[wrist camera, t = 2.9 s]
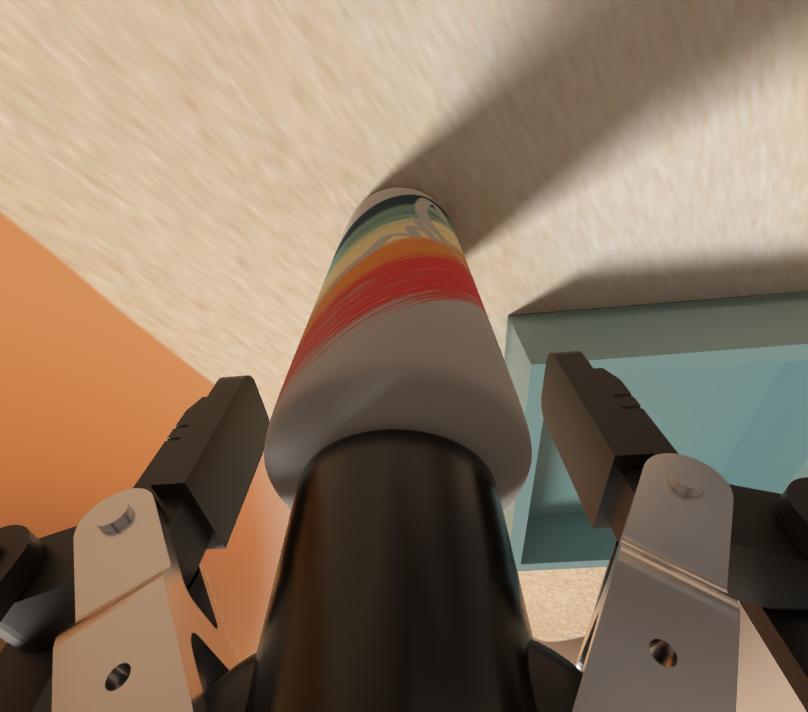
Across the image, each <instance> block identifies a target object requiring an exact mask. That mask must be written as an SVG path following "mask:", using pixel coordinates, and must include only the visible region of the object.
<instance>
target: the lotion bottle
mask: <svg viewBox="0 0 808 712" xmlns="http://www.w3.org/2000/svg"><path fill="white" fill-rule="evenodd" d="M264 460H265V467H266V470H267V473H268V476H269V478H270V481H271V483H272V485H273V487H274V488H275V490H276V492H277V493H278V495H279V496H280V497H281V499H282V500H283V501H284V502H285V504H286V505H287V506H288V507H289V508H290V509H291V514H290V518H289V522H288V526H287V530H286V534H285V538H284V542H283V546H282V550H281V555H280V559H279V563H278V567H277V571H276V575H275V579H274V583H273V587H272V591H271V596H270V600H269V604H268V608H267V612H266V616H265V620H264V624H263V628H262V633H261V637H260V641H259V645H258V649H257V653H256V658H255V665H254V671H253V676H252V681H251V686H250V690H249V694H248V699H247V703H246V707H245V711H244V712H538V711H537V707H536V702H535V697H534V693H533V688H532V683H531V678H530V673H529V666H528V644H529V642H530V640H531V639H532V640H533V636H532V632H531V628H530V623H529V619H528V615H527V611H526V606H525V602H524V598H523V594H522V589H521V585H520V581H519V577H518V572H517V568H516V564H515V560H514V555H513V551H512V547H511V543H510V538H509V534H508V530H507V526H506V521H505V517H504V513H503V511H504V510H505V509H506V508H507V507H508V506H509V505H510V504H511V503H512V502H513V500H514V499H515V498H516V496H517V495H518V494H519V492H520V490H521V489H522V487H523V485H524V483H525V481H526V479H527V477H528V474H529V471H530V467H531V461H532V446H531V438H530V432H529V428H528V425H527V422H526V419H525V416H524V412H523V409H522V407H521V404H520V401H519V398H518V395H517V393H516V390H515V387H514V385H513V382H512V379H511V377H510V374H509V371H508V369H507V366H506V363H505V361H504V358H503V356H502V353H501V350H500V348H499V345H498V342H497V340H496V337H495V335H494V332H493V329H492V327H491V324H490V322H489V319H488V316H487V314H486V311H485V309H484V306H483V303H482V301H481V298H480V296H479V293H478V290H477V288H476V285H475V283H474V280H473V277H472V275H471V272H470V270H469V267H468V265H467V262H466V259H465V257H464V254H463V252H462V249H461V246H460V244H459V241H458V239H457V236H456V233H455V231H454V229H453V226H452V224H451V222H450V220H449V218H448V216H447V214H446V213H445V211H444V210H443V209H442V207H441V206H440V205H439V204H438V203H437V202H436V201H435V200H434V199H432V198H431V197H430V196H428V195H426V194H425V193H423V192H420V191H418V190H415V189H411V188H404V187H395V188H388V189H384V190H381V191H379V192H376V193H374V194H373V195H371V196H369V197H368V198H367V199H365V200H364V201H363V202H362V203H361V204H360V205H359V206H358V208H357V209H356V210H355V212H354V213H353V215H352V216H351V218H350V220H349V222H348V224H347V227H346V229H345V231H344V234H343V236H342V239H341V241H340V244H339V246H338V249H337V251H336V254H335V256H334V259H333V261H332V264H331V266H330V269H329V271H328V274H327V276H326V279H325V281H324V284H323V286H322V289H321V291H320V294H319V296H318V299H317V301H316V304H315V306H314V309H313V311H312V314H311V316H310V319H309V321H308V324H307V326H306V329H305V331H304V334H303V336H302V339H301V341H300V344H299V346H298V349H297V351H296V354H295V356H294V359H293V361H292V364H291V366H290V369H289V371H288V374H287V376H286V379H285V381H284V384H283V387H282V389H281V392H280V394H279V397H278V400H277V402H276V405H275V408H274V411H273V414H272V417H271V420H270V423H269V426H268V429H267V433H266V439H265V447H264Z"/></svg>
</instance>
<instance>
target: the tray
mask: <svg viewBox="0 0 808 712" xmlns="http://www.w3.org/2000/svg"><path fill="white" fill-rule="evenodd" d="M578 350H579V351H581V352H582V353H583V354H584V356H585V357H586V359H587V360H588V361H589V363H590V364H591V366H592V367H593V368H604V369H605V370H607V371H608V372H610V373H611V374H613V375H614V376H616V377H617V378H619V379H620V380H621V381H622V382H623V384H624V385H625V386H626V387H627V389H628V390H629V391H630V393H631V396H634V398H635V399H636V400H637V401H638V403H639V404H640V405H641V406H640V407H641V409H642V408H643V409H644V410H645V412H646V413H647V414H648V415H649V417H650V418H651V419H652V421H653V422H654V423H655V424H656V426H657V427H658V428H659V429H660V431H661V432H662V433H663V435H664V436H665V437H666V438H667V440H668V441H669V442H670V444H671V445H672V446H673V447H674V449H675V450H676V451H677V452H678V454H681V455H685V456H688V457H692V458H694V459H697V460H699V461H701V462H703V463H705V464H707V465H708V466H710V467H712V468H713V469H714V470H716V471H717V472H718V473H719V474H720V475H721V476H722V477H723V478H724V479H725V480H726V481H727V482H728V484H732V485H736V486H742V487H747V488H752V489H758V490H763V491H769V492H774V493H780V494H783V492H784V491H785V489H786V488H787V487H788V485H789V484H790V483H791V482H792V481H794V480H796V479H799V478H804V477H808V291H806V292H794V293H782V294H769V295H757V296H745V297H733V298H720V299H708V300H696V301H684V302H671V303H659V304H647V305H635V306H622V307H610V308H598V309H585V310H573V311H561V312H549V313H536V314H524V315H512V316H508V323H507V337H506V351H505V363H506V366H507V369H508V371H509V374H510V377H511V379H512V382H513V385H514V387H515V390H516V393H517V395H518V398H519V401H520V404H521V407H522V409H523V412H524V416H525V419H526V422H527V425H528V428H529V432H530V438H531V446H532V461H531V467H530V471H529V474H528V477H527V479H526V481H525V483H524V485H523V487H522V489H521V490H520V492H519V494H518V495H517V496H516V498H515V499H514V500H513V502H512V503H511V504H510V505H509V506H508V507H507V508H506V509H505V510H504V511H503V513H504V517H505V521H506V526H507V530H508V534H509V538H510V543H511V547H512V551H513V555H514V560H515V564H516V568H517V571H531V570H550V569H569V568H588V567H607V566H608V563H609V560H610V557H611V554H612V550H613V547H614V544H615V542H616V537H615V535H614V533H613V531H612V529H611V527H609V528H592V526H591V524H590V521H589V519H588V517H587V515H586V512H585V510H584V508H583V506H582V503H581V501H580V499H579V497H578V494H577V492H576V490H575V488H574V486H573V483H572V481H571V479H570V477H569V474H568V472H567V470H566V468H565V465H564V463H563V461H562V459H561V457H560V454H559V452H558V450H557V448H556V445H555V443H554V441H553V439H552V436H551V434H550V432H549V430H548V427H547V425H546V423H545V421H544V418H543V414H542V408H541V395H542V388H543V381H544V374H545V366H546V359H547V356H548V354H549V353H553V352H566V351H578Z"/></svg>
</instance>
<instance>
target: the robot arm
mask: <svg viewBox="0 0 808 712" xmlns="http://www.w3.org/2000/svg"><path fill="white" fill-rule="evenodd" d="M640 406H641V405H640V404H639V403H638V401H637V400H636V399H635V398H634V396H631V393H630V391H629V390H628V389H627V387H626V386H625V385H624V384H623V382H622V381H621V380H620V379H619V378H617V377H616V376H614V375H613V374H611V373H610V372H608V371H607V370H605V369H604V368H593V367H592V366H591V364H590V363H589V361H588V360H587V359H586V357H585V356H584V354H583V353H582V352H581V351H579V350H578V351H566V352H553V353H549V354H548V356H547V359H546V366H545V374H544V381H543V388H542V395H541V408H542V414H543V418H544V421H545V423H546V425H547V427H548V430H549V432H550V434H551V436H552V439H553V441H554V443H555V445H556V448H557V450H558V452H559V454H560V457H561V459H562V461H563V463H564V465H565V468H566V470H567V472H568V474H569V477H570V479H571V481H572V483H573V486H574V488H575V490H576V492H577V494H578V497H579V499H580V501H581V503H582V506H583V508H584V510H585V512H586V515H587V517H588V519H589V521H590V524H591V526H592V528H609V527H611V529H612V531H613V533H614V535H615V537H616V542H615V544H614V547H613V550H612V554H611V557H610V560H609V563H608V566H607V569H606V573H605V576H604V579H603V582H602V585H601V589H600V592H599V595H598V598H597V601H596V605H595V608H594V611H593V614H592V617H591V620H590V623H589V626H588V629H587V632H586V635H585V638H584V641H583V644H582V647H581V650H580V653H579V656H578V659H577V662H576V665H575V666H574V665H573V664H572V663H571V662H570V661H568V660H567V659H565V658H564V657H563V656H561V655H560V654H558V653H557V652H555V651H554V650H552V649H550V648H548V647H546V646H545V645H543V644H541V643H539V642H537V641H534V640H532V639H531V640H530V642H529V644H528V666H529V673H530V678H531V683H532V688H533V693H534V697H535V702H536V707H537V711H538V712H736V698H737V696H736V695H737V676H738V655H739V634H740V607H739V603H738V601H739V602H740V604H741V605H742V607H743V608H744V610H745V612H746V613H747V615H748V616H749V618H750V620H751V621H752V623H753V625H754V626H755V628H756V630H757V631H758V633H759V634H760V636H761V638H762V639H763V641H764V643H765V644H766V646H767V647H768V649H769V651H770V652H771V654H772V656H773V657H774V659H775V661H776V662H777V664H778V665H779V667H780V668H781V670H782V672H783V674H784V675H785V677H786V678H787V680H788V682H789V683H790V685H791V687H792V688H793V690H794V691H795V693H796V695H797V696H798V698H799V700H800V701H801V703H802V704H803V706H804V708H805V709H806V711H807V712H808V477H804V478H799V479H796V480H794V481H792V482H791V483H790V484H789V485H788V487H787V488H786V489H785V491H784V492H783V494H780V493H774V492H769V491H763V490H758V489H752V488H747V487H742V486H736V485H732V484H728V482H727V481H726V480H725V479H724V478H723V477H722V476H721V475H720V474H719V473H718V472H717V471H716V470H714V469H713V468H712V467H710V466H708V465H707V464H705V463H703V462H701V461H699V460H697V459H694V458H692V457H688V456H685V455H681V454H678V452H677V451H676V450H675V449H674V447H673V446H672V445H671V444H670V442H669V441H668V440H667V438H666V437H665V436H664V435H663V433H662V432H661V431H660V429H659V428H658V427H657V426H656V424H655V423H654V422H653V421H652V419H651V418H650V417H649V415H648V414H647V413H646V412H645V410H644V409H643V408H642V409H641V407H640ZM268 426H269V418H268V415H267V412H266V410H265V407H264V404H263V402H262V399H261V397H260V394H259V391H258V389H257V386H256V383H255V381H254V379H253V378H252V377H251V376H236V377H223V378H220V379H219V380H218V381H217V383H216V384H215V386H214V387H213V389H212V390H211V392H210V393H209V395H208V396H207V397H202V398H201V399H200V400H199V401H198V402H196V403H195V404H194V405H193V406H191V407H190V408H189V409H188V410H187V411H186V412H185V413H184V415H183V416H182V418H181V419H180V421H179V422H178V423H177V425H176V429H173V431H172V432H171V434H170V435H169V436H168V441H165V442H164V444H163V445H162V447H161V448H160V449H159V451H158V452H157V454H156V455H155V457H154V458H153V460H152V461H151V463H150V464H149V466H148V467H147V468H146V470H145V471H144V473H143V474H142V476H141V477H140V479H139V480H138V482H137V483H136V484H135V486H134V487H133V489H128V490H124V491H121V492H118V493H116V494H114V495H112V496H110V497H108V498H106V499H105V500H103V501H102V502H100V503H99V504H97V505H96V506H95V507H94V508H92V509H91V510H90V511H89V512H88V513H87V514H86V515H85V516H84V518H83V519H82V520H81V521H80V523H79V525H78V526H76V527H72V528H69V529H66V530H63V531H60V532H57V533H54V534H51V535H48V536H45V537H42V538H39V539H38V538H37V537H36V536H35V535H34V534H33V533H32V532H30V531H29V530H28V529H27V528H26V527H24V526H20V525H11V526H6V527H2V528H0V638H1V639H3V640H4V641H6V642H7V644H6V645H5V647H4V648H3V650H2V651H1V653H0V712H244V711H245V707H246V703H247V699H248V694H249V690H250V686H251V681H252V676H253V671H254V665H255V658H256V653H255V654H253V655H251V656H249V657H248V658H246V659H245V660H243V661H242V662H239V660H238V658H237V656H236V654H235V652H234V650H233V649H232V647H231V645H230V643H229V641H228V638H227V636H226V633H225V630H224V627H223V624H222V621H221V618H220V615H219V612H218V609H217V606H216V603H215V600H214V597H213V593H212V590H211V587H210V584H209V581H208V578H207V575H206V572H205V569H204V567H203V565H202V564H201V560H202V558H203V555H204V553H205V550H206V549H221V548H226V546H227V543H228V541H229V538H230V535H231V533H232V531H233V528H234V525H235V523H236V520H237V518H238V515H239V513H240V510H241V508H242V505H243V502H244V500H245V497H246V495H247V492H248V489H249V487H250V484H251V482H252V479H253V477H254V474H255V471H256V469H257V466H258V464H259V461H260V459H261V456H262V454H263V451H264V447H265V439H266V433H267V429H268Z"/></svg>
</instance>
